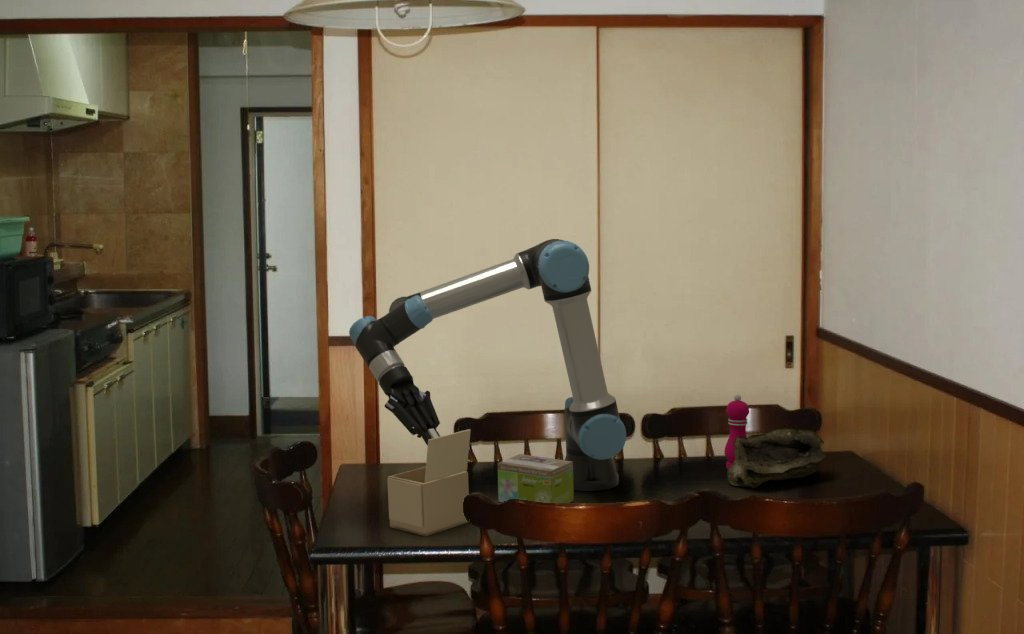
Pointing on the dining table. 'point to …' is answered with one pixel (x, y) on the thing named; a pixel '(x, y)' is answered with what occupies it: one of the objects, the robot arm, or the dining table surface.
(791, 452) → the hollow geode rock
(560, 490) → the tea box
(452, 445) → the flap
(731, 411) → the pepper mill
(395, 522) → the carton
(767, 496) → the dining table surface
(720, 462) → the dining table surface
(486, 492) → the dining table surface
